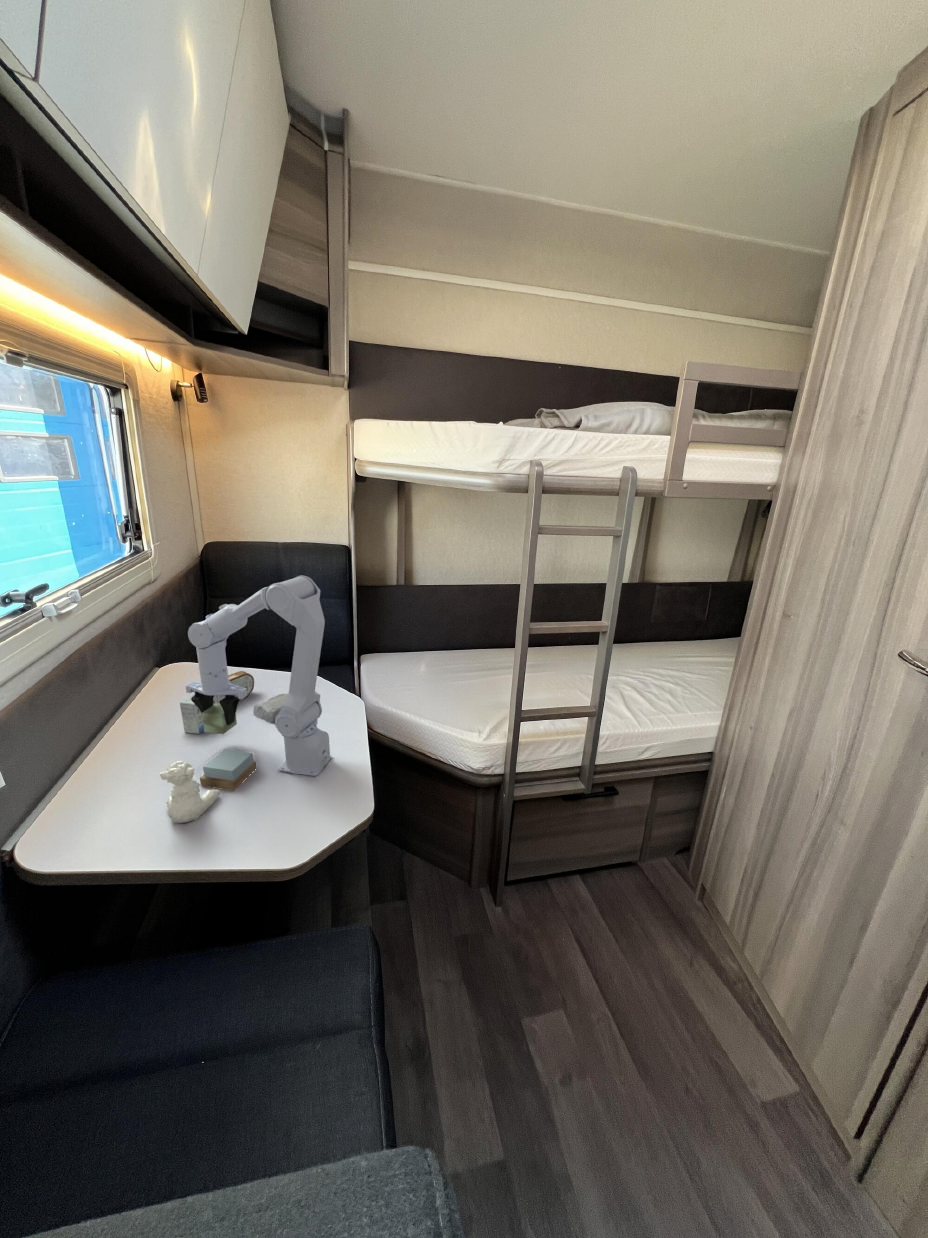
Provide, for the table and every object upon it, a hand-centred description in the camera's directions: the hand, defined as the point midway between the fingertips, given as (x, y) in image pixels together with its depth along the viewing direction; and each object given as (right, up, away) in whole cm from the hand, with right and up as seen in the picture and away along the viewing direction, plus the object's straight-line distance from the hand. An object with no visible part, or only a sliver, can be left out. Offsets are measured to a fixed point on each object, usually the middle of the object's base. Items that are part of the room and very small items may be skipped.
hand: (220, 721), depth 112 cm
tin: (-9, 0, +25) cm, 27 cm away
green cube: (0, -2, 0) cm, 2 cm away
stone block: (+6, -2, +21) cm, 22 cm away
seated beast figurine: (+5, -14, -20) cm, 25 cm away
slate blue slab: (+7, -8, -9) cm, 14 cm away
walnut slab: (+7, -11, -9) cm, 16 cm away
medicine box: (-11, -4, +11) cm, 16 cm away
